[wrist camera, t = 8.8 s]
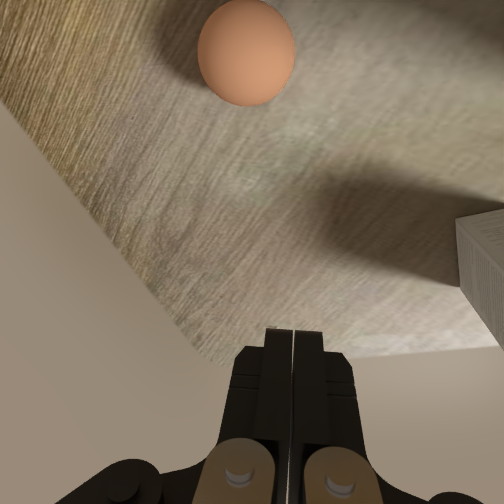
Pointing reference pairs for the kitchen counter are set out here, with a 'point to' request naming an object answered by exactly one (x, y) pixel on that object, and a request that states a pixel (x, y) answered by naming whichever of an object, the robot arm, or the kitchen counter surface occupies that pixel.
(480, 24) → the kitchen counter surface
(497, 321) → the skincare box
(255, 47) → the orange sphere
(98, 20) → the kitchen counter surface
